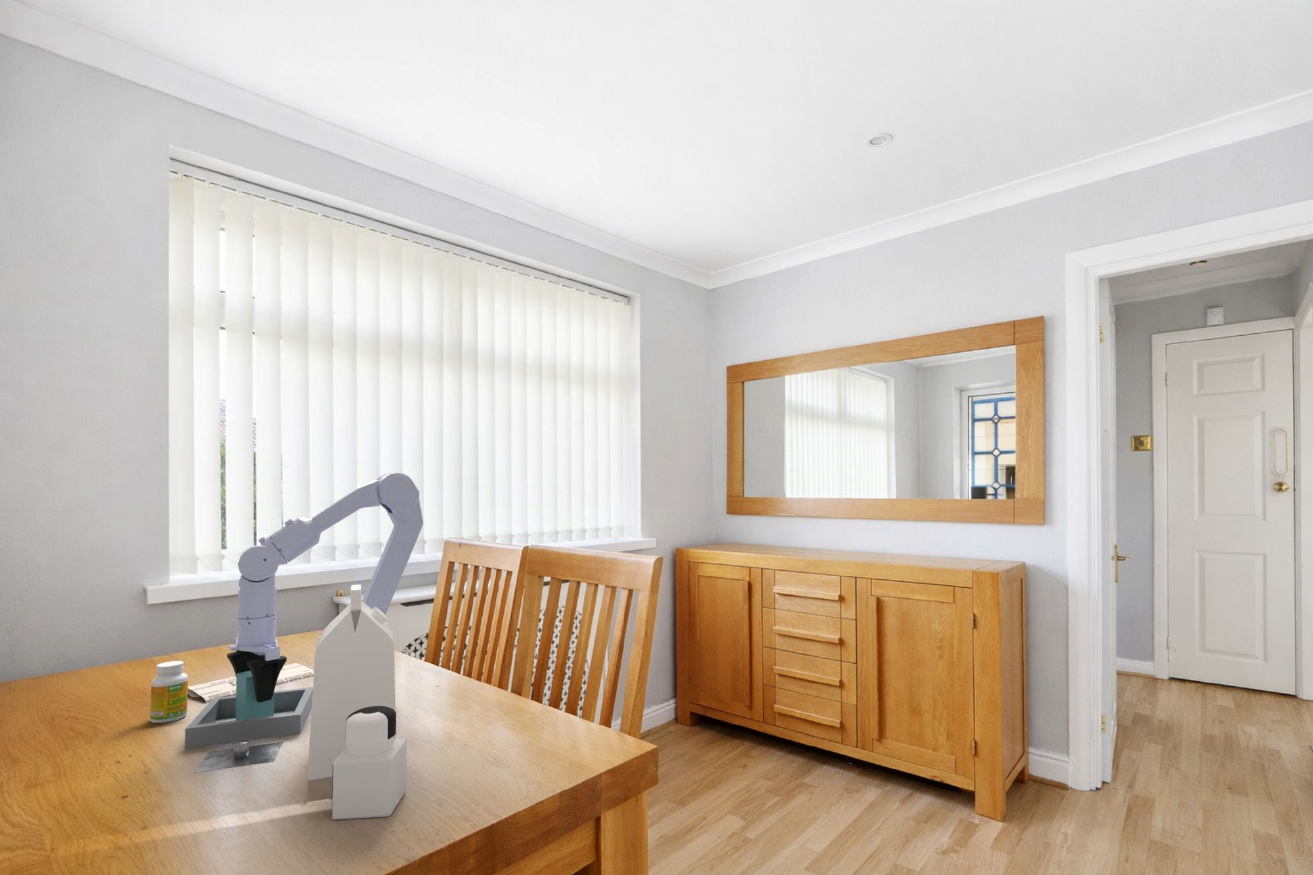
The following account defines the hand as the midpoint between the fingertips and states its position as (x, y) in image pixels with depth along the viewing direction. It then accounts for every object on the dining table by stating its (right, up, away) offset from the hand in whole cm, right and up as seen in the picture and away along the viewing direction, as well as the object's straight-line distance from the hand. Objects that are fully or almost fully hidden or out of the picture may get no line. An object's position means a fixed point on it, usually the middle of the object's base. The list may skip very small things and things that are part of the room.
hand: (255, 696), depth 114 cm
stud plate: (+6, -5, -14) cm, 16 cm away
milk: (+24, -4, -15) cm, 28 cm away
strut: (0, -5, 0) cm, 5 cm away
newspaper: (-18, -9, +27) cm, 33 cm away
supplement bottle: (-19, -7, +6) cm, 21 cm away
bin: (0, -6, 0) cm, 6 cm away
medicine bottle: (+32, -3, -28) cm, 42 cm away
